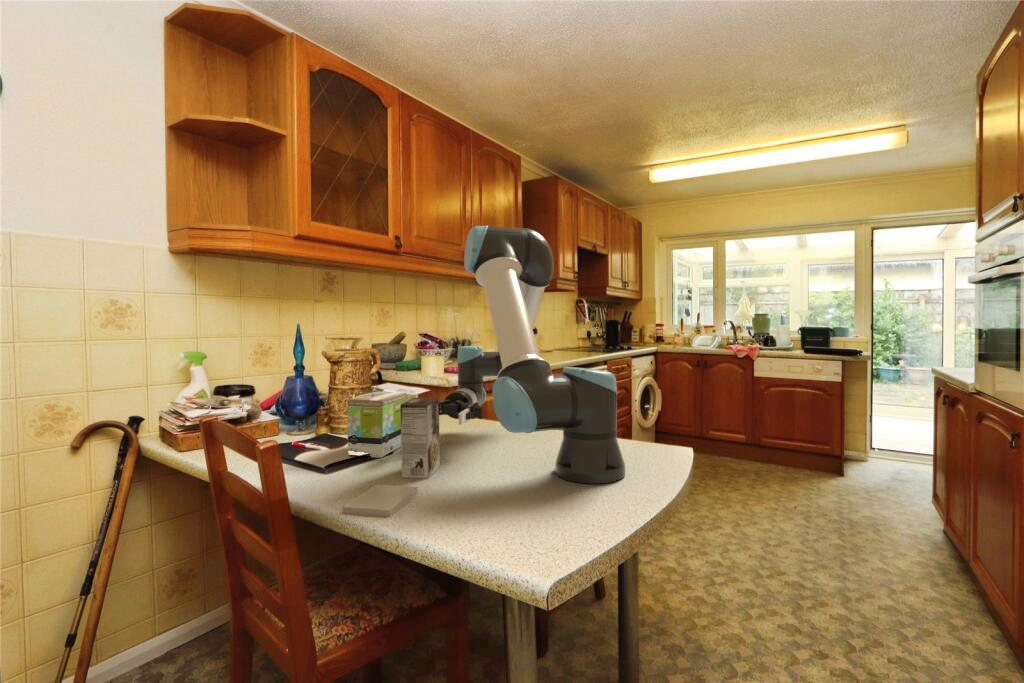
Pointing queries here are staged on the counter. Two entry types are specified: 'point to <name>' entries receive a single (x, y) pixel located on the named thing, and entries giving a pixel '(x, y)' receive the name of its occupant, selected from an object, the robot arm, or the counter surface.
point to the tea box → (375, 423)
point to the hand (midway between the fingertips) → (432, 418)
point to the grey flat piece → (381, 500)
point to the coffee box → (420, 437)
